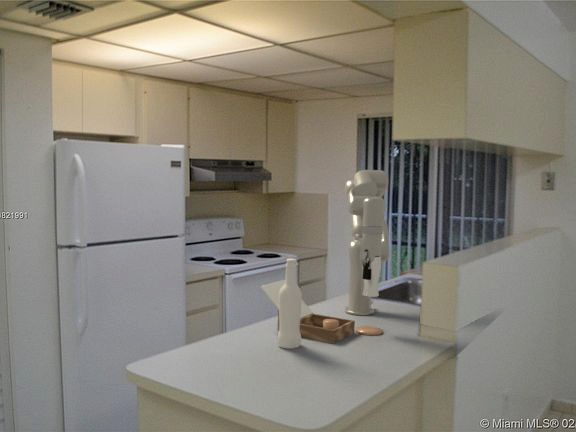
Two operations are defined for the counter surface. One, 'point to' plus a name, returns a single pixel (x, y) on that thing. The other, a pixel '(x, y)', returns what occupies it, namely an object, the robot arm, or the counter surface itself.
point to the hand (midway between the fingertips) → (371, 277)
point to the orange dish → (369, 330)
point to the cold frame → (325, 334)
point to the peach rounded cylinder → (330, 324)
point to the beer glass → (372, 279)
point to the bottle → (290, 309)
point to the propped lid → (273, 295)
